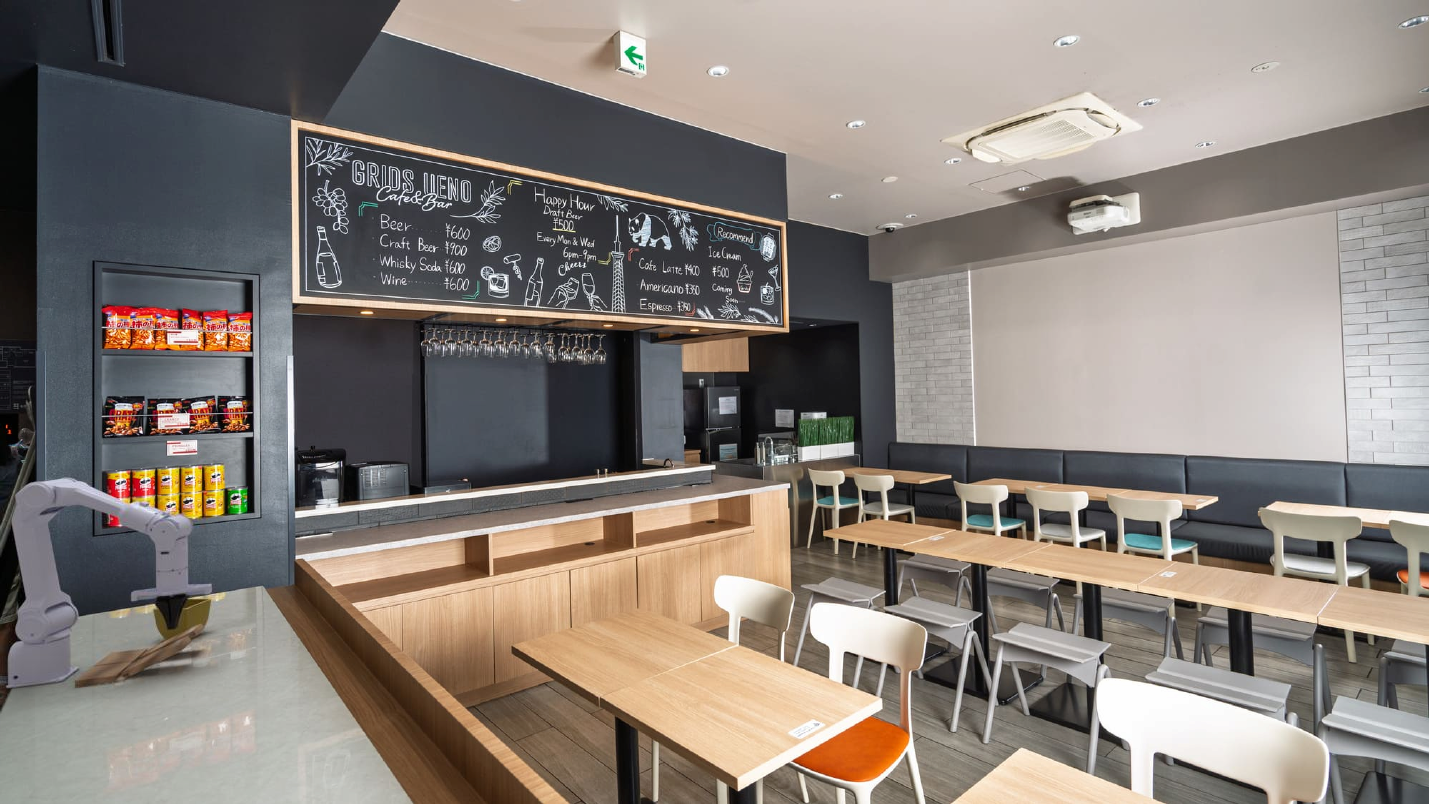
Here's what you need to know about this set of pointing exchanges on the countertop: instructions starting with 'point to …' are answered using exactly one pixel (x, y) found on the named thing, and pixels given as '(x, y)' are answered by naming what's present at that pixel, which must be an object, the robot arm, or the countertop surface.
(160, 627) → the flower pot
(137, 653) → the laid floor
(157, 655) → the plank near
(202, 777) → the countertop surface
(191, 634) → the plank far
